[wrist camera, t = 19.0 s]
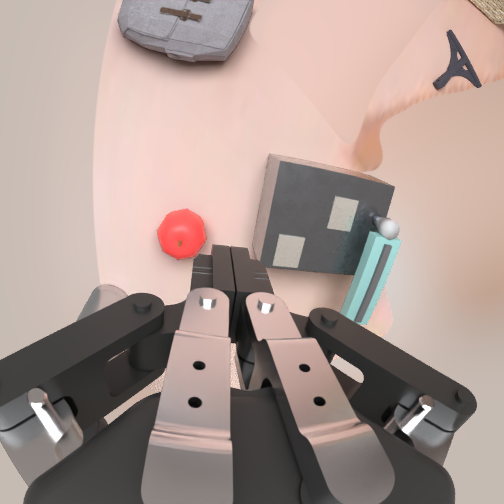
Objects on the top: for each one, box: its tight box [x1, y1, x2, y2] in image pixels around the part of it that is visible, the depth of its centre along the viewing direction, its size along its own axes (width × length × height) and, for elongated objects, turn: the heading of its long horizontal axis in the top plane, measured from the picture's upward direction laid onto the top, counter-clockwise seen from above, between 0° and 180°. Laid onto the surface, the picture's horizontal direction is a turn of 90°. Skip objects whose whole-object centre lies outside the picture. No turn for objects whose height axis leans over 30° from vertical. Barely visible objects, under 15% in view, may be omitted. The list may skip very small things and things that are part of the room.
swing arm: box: [340, 218, 401, 324], centre depth 43 cm, size 18×5×3 cm, turn 170°
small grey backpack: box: [118, 0, 254, 62], centre depth 29 cm, size 15×8×20 cm
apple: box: [157, 209, 207, 260], centre depth 45 cm, size 8×8×8 cm
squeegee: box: [433, 30, 482, 89], centre depth 39 cm, size 14×15×3 cm
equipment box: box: [252, 154, 395, 275], centre depth 45 cm, size 16×19×10 cm
